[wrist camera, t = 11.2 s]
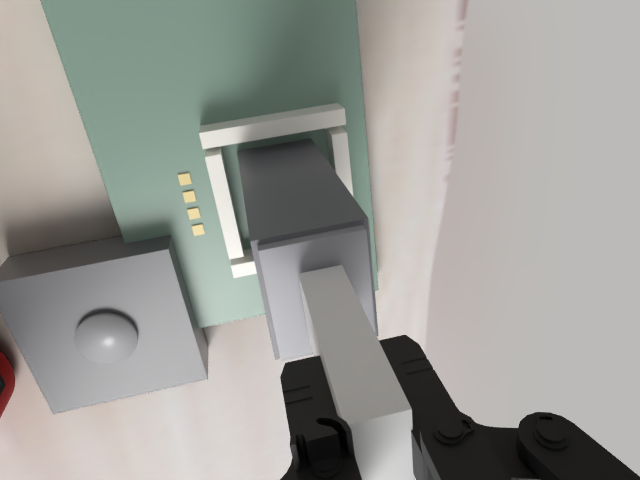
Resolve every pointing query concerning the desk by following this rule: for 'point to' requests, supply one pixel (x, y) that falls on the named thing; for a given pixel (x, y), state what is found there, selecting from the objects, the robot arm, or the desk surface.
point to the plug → (301, 235)
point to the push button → (103, 320)
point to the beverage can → (5, 382)
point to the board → (211, 118)
